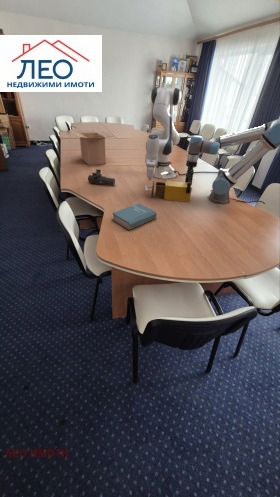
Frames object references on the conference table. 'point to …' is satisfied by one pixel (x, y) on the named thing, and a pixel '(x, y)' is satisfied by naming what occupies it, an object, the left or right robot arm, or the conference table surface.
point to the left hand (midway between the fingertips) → (149, 179)
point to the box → (92, 146)
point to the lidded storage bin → (176, 191)
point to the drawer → (157, 189)
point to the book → (134, 216)
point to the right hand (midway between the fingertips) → (186, 189)
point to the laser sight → (100, 179)
